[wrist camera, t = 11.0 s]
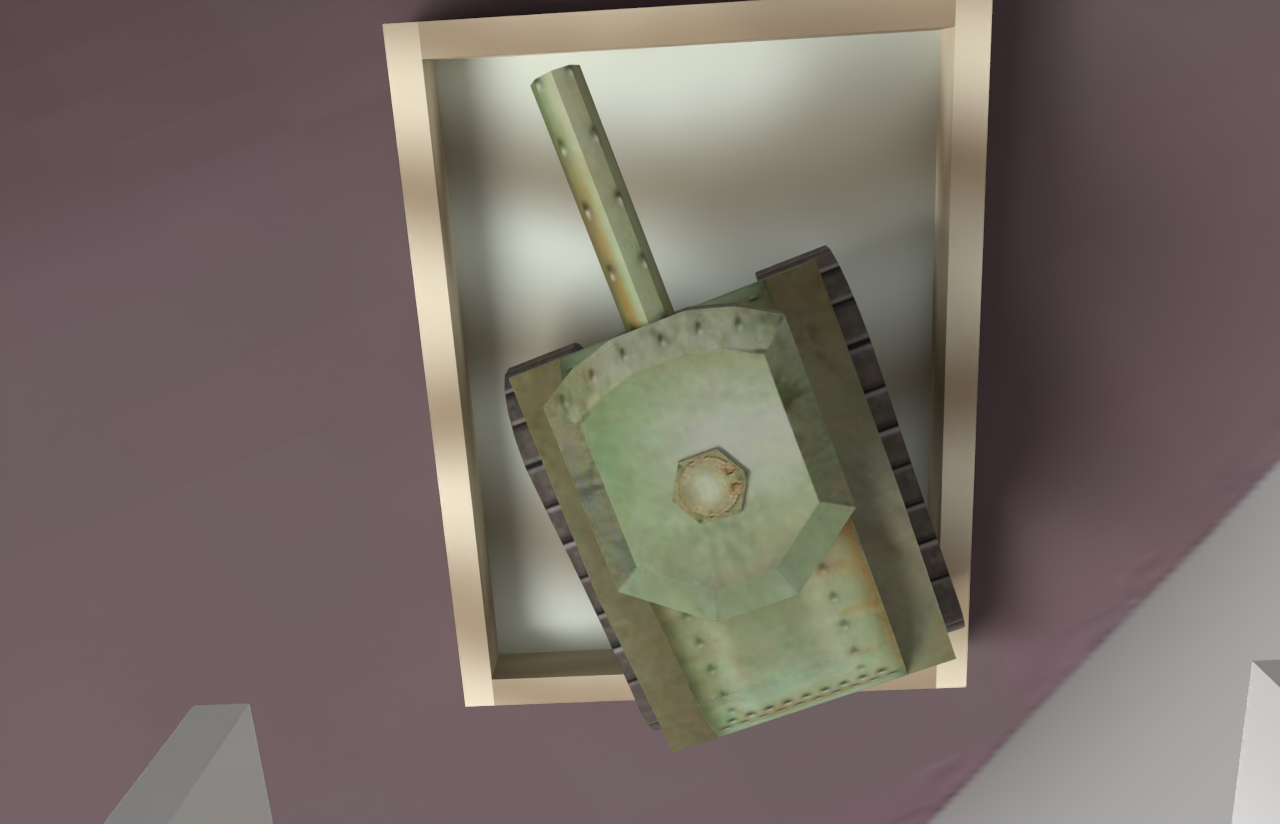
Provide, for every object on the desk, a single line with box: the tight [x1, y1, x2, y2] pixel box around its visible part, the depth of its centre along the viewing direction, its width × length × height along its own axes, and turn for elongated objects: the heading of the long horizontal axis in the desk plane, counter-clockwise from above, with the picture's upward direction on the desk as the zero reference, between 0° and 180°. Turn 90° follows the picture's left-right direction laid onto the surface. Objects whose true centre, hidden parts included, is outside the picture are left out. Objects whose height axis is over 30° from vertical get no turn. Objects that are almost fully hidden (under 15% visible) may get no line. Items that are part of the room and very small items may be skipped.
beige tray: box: [383, 0, 992, 706], centre depth 33 cm, size 22×17×2 cm
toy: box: [504, 65, 965, 752], centre depth 29 cm, size 10×18×10 cm, turn 22°
